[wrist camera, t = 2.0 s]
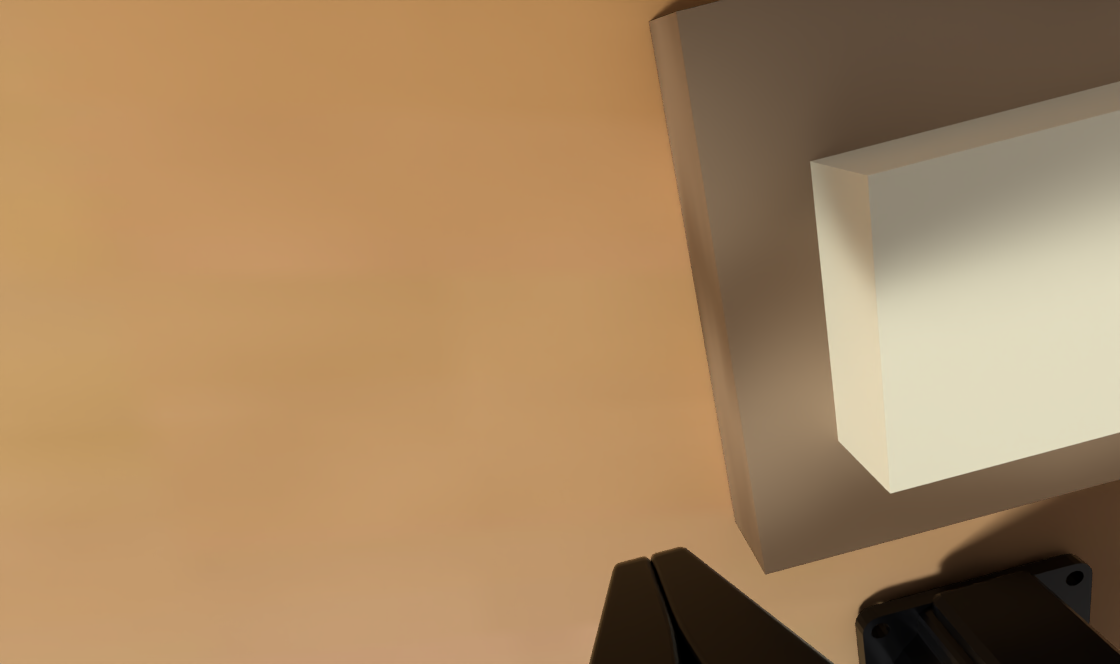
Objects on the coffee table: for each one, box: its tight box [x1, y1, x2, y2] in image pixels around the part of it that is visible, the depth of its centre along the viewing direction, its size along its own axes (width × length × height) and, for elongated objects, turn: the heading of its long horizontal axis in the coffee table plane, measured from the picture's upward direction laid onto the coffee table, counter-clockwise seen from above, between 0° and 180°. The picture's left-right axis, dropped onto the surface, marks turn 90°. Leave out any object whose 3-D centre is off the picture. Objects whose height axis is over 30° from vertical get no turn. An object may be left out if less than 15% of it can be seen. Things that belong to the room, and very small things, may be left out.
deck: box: [649, 0, 1120, 574], centre depth 15 cm, size 12×12×2 cm
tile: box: [810, 81, 1120, 494], centre depth 13 cm, size 6×9×2 cm, turn 103°
